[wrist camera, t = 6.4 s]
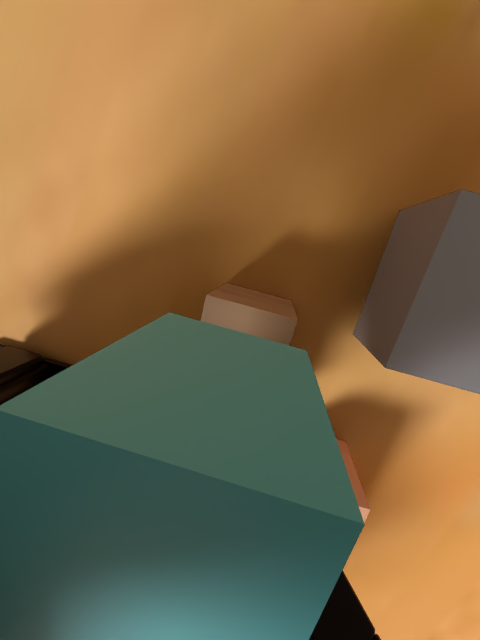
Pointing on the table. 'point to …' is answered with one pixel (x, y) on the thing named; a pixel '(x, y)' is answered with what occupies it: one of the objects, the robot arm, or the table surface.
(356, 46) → the table surface
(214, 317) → the walnut brick
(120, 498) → the teal brick
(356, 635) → the robot arm
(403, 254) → the charcoal brick
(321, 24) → the table surface
